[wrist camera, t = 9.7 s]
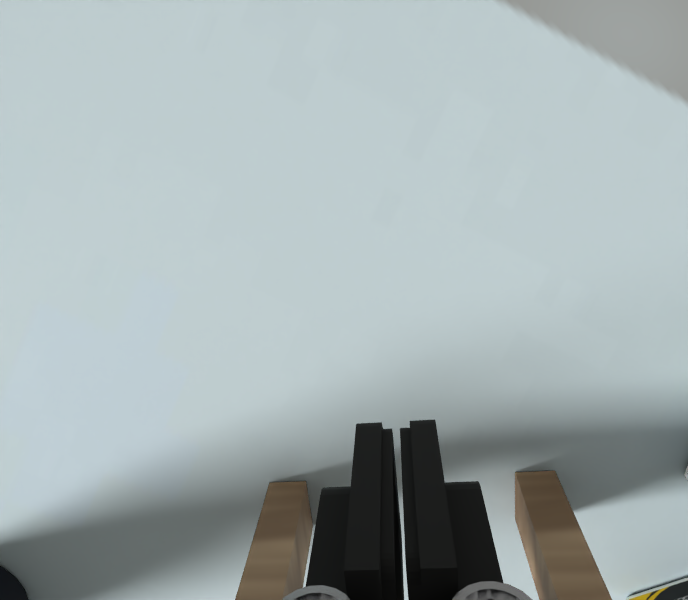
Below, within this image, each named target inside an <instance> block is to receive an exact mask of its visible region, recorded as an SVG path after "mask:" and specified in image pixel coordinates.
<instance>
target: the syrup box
mask: <svg viewBox="0 0 688 600" xmlns="http://www.w3.org/2000/svg"><path fill="white" fill-rule="evenodd" d="M684 476H685V478H686V479H687V480H688V465H687V468H686V471H685V474H684Z"/></svg>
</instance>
